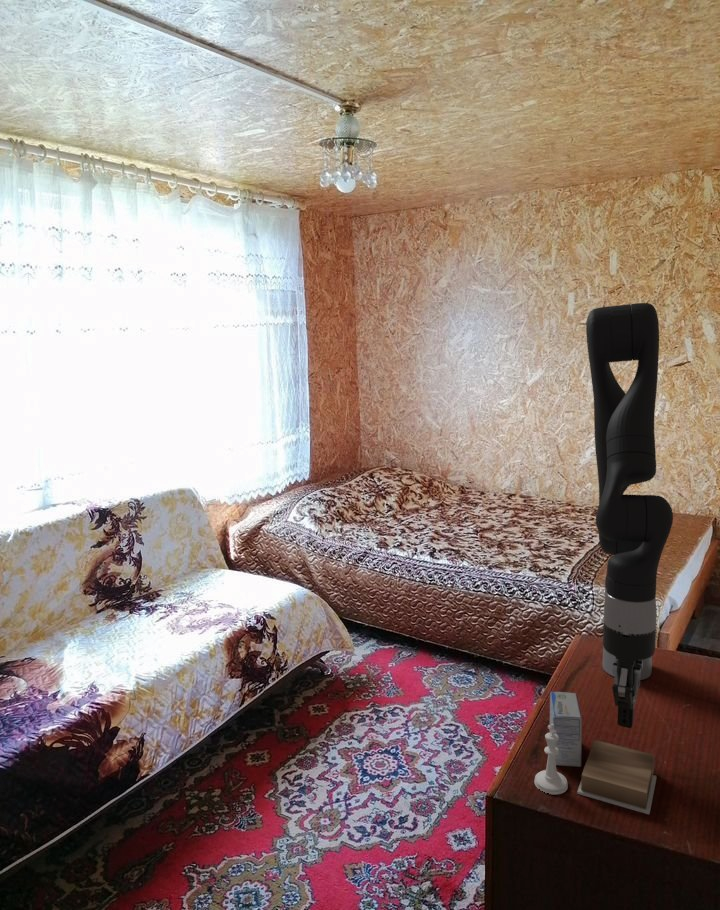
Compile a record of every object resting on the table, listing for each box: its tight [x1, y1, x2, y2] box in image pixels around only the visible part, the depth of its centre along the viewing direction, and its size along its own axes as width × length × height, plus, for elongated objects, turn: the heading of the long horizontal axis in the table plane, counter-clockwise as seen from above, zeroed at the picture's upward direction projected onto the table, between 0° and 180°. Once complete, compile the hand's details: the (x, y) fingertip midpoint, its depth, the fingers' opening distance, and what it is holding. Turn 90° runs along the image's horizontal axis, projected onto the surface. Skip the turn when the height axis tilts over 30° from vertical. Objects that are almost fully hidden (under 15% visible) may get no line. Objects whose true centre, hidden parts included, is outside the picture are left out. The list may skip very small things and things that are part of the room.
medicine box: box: [549, 691, 583, 768], centre depth 111 cm, size 8×4×9 cm, turn 168°
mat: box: [576, 774, 657, 815], centre depth 103 cm, size 9×10×1 cm
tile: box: [580, 739, 656, 809], centre depth 103 cm, size 3×9×10 cm
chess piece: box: [534, 723, 569, 796], centre depth 103 cm, size 5×5×10 cm
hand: (625, 724), depth 107 cm, fingers closed
